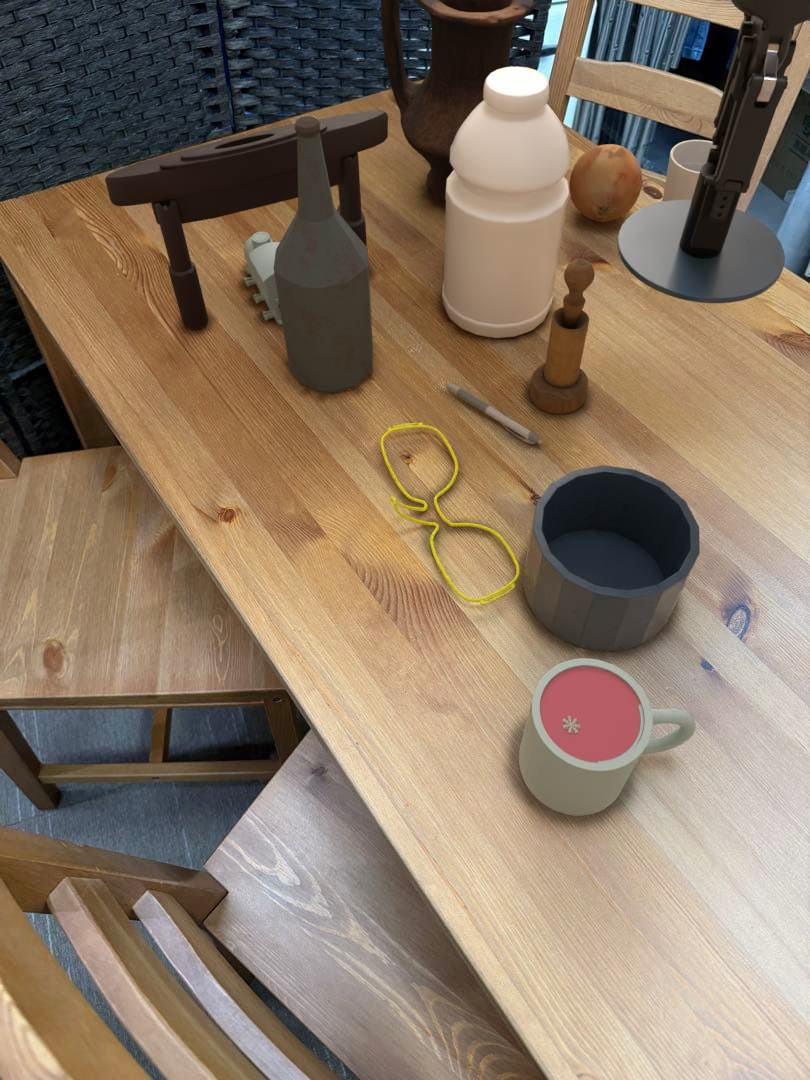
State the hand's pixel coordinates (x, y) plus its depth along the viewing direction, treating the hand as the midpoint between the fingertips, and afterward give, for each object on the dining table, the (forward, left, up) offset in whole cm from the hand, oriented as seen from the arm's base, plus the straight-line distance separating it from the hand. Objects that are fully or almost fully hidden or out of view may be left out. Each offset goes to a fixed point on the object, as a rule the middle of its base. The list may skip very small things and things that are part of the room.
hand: (705, 230), depth 80 cm
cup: (-3, -33, -23) cm, 40 cm away
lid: (0, 0, -2) cm, 2 cm away
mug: (+4, +44, -23) cm, 50 cm away
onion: (+8, -37, -23) cm, 44 cm away
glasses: (+22, +20, -23) cm, 38 cm away
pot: (+5, +26, -23) cm, 35 cm away
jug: (+29, -41, -23) cm, 55 cm away
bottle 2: (+20, -15, -23) cm, 34 cm away
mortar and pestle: (+11, 0, -23) cm, 25 cm away
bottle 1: (+38, 0, -23) cm, 44 cm away
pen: (+18, +5, -23) cm, 30 cm away
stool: (+48, -12, -23) cm, 55 cm away
